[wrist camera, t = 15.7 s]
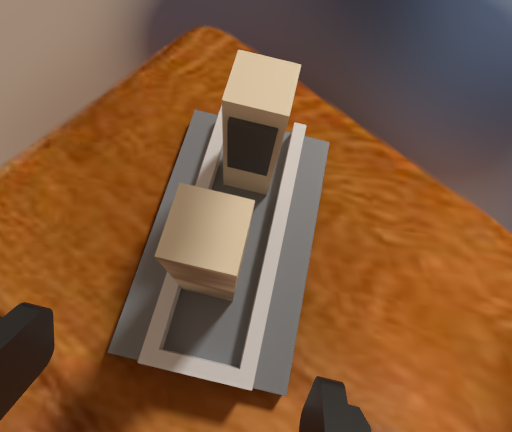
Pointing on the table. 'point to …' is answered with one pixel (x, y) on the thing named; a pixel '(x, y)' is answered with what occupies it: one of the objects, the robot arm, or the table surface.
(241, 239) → the maple finger
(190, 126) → the rail board
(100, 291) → the table surface
